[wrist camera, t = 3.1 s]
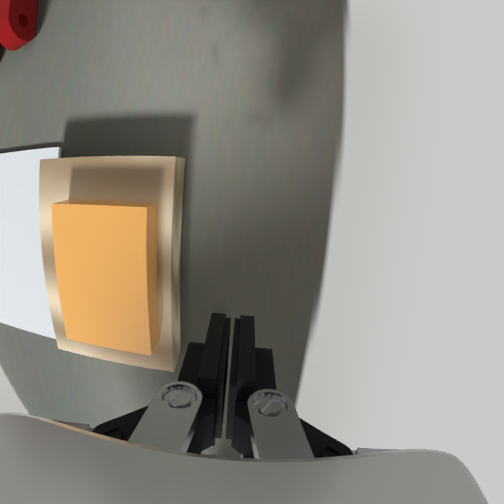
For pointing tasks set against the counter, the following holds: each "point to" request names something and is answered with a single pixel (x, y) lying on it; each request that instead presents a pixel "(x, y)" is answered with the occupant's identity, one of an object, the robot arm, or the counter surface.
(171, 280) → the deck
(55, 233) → the slab
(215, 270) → the counter surface
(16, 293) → the mat
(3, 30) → the mechanical linkage
